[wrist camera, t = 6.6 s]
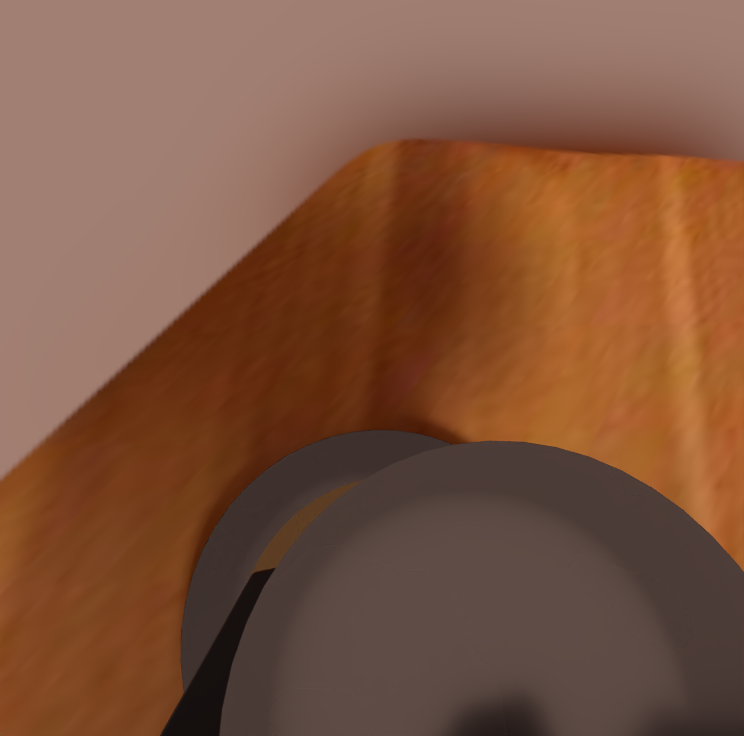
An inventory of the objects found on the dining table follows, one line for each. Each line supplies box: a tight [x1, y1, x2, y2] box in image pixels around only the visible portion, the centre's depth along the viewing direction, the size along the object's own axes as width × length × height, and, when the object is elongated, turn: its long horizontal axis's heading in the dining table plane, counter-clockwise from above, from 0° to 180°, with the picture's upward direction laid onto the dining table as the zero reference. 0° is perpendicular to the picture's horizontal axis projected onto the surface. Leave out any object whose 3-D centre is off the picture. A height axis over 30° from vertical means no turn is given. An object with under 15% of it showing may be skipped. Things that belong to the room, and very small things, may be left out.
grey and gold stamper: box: [219, 441, 744, 736], centre depth 9 cm, size 7×7×12 cm
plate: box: [181, 430, 452, 693], centre depth 18 cm, size 12×12×1 cm
